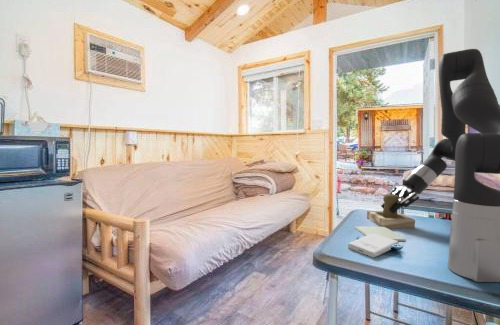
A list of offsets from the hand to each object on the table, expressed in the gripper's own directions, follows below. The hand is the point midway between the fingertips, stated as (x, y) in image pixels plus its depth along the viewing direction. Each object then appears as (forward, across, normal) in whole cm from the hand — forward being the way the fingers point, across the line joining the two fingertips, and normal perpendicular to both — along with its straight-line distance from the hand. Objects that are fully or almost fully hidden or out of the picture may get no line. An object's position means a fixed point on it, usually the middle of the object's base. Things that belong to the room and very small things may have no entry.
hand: (386, 209), depth 102 cm
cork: (+3, 0, +5) cm, 6 cm away
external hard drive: (+16, +25, -9) cm, 31 cm away
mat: (+10, +13, -3) cm, 17 cm away
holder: (+3, 0, +5) cm, 5 cm away
